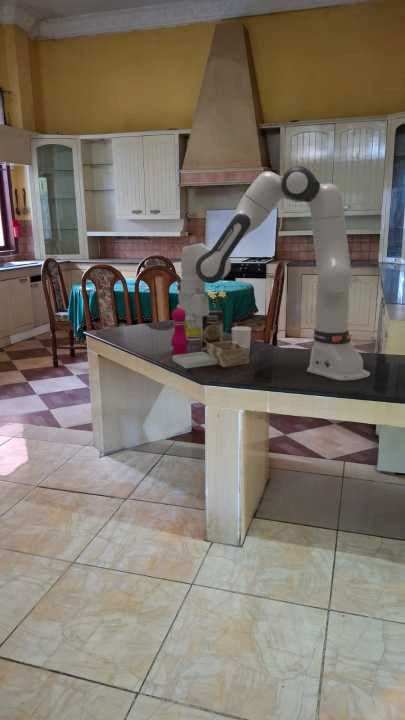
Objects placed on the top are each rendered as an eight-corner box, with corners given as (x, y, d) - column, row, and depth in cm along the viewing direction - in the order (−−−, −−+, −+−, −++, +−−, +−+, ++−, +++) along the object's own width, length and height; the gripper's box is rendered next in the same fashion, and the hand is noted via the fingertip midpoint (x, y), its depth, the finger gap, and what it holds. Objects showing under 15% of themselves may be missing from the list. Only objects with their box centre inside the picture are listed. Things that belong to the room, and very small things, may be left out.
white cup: (249, 354, 215) (249, 330, 213) (230, 354, 217) (230, 329, 214) (251, 350, 222) (252, 326, 220) (233, 349, 224) (233, 326, 222)
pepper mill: (188, 355, 216) (187, 306, 211) (170, 355, 216) (169, 306, 211) (189, 351, 223) (188, 303, 218) (171, 351, 223) (170, 303, 218)
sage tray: (217, 364, 202) (217, 359, 201) (185, 368, 197) (185, 363, 196) (203, 356, 213) (203, 351, 213) (172, 360, 208) (172, 355, 207)
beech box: (248, 363, 202) (249, 348, 200) (223, 367, 198) (223, 351, 196) (230, 355, 215) (230, 340, 213) (206, 358, 210) (206, 343, 209)
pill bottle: (192, 336, 207) (191, 306, 204) (206, 338, 203) (205, 307, 200) (182, 339, 202) (181, 309, 199) (196, 341, 198) (195, 310, 195)
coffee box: (201, 350, 223) (200, 312, 219) (201, 347, 229) (200, 309, 225) (223, 350, 223) (223, 312, 219) (222, 346, 229) (222, 309, 225)
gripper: (213, 290, 190) (213, 328, 193) (190, 284, 208) (191, 319, 211) (197, 291, 187) (197, 330, 191) (175, 285, 205) (176, 320, 209)
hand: (194, 324), depth 201 cm, fingers closed on pill bottle, 6 cm apart
